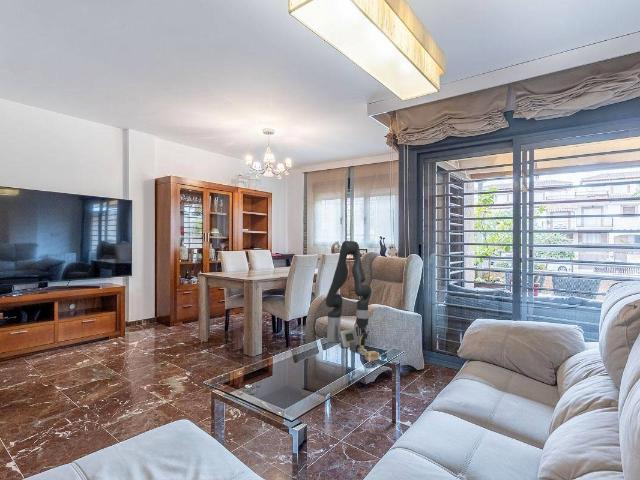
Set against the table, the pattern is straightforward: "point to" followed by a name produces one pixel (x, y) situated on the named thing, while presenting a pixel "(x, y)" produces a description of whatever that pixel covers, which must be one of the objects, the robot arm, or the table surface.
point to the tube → (360, 347)
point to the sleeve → (353, 346)
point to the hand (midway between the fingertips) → (361, 344)
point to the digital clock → (348, 337)
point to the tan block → (371, 355)
